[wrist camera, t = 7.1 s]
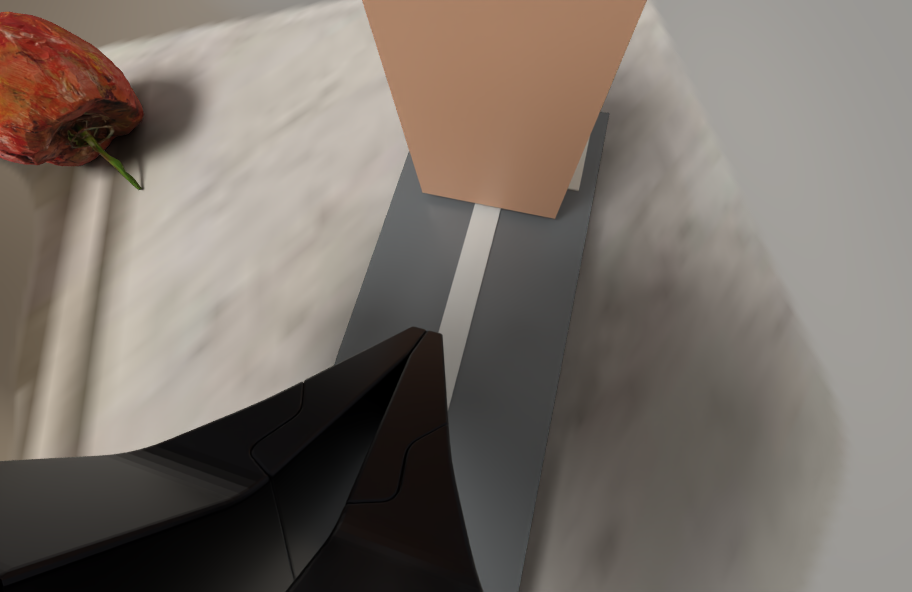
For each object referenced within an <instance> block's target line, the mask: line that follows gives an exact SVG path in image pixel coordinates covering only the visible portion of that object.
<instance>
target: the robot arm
mask: <svg viewBox="0 0 912 592" xmlns="http://www.w3.org/2000/svg"><path fill="white" fill-rule="evenodd" d="M448 425H449V421H448V407H447V392H446V377H445V363H444V348H443V335H442V334H441V333H438V332H434V331H430V330H429V331H427V330H426V329H423V328H419V327H415V326H412V327H410V328H408V329H406V330H404V331H402V332H400V333H398V334H396V335H394V336H392V337H390V338H388V339H386V340H384V341H382V342H380V343H378V344H376V345H374V346H372V347H370V348H368V349H366V350H364V351H362V352H360V353H358V354H356V355H354V356H352V357H350V358H348V359H346V360H344V361H342V362H340V363H338V364H336V365H334V366H332V367H330V368H328V369H326V370H324V371H322V372H320V373H318V374H316V375H314V376H312V377H310V378H308V379H306V380H305V381H304V383H303V382H300V383H298V384H296V385H294V386H292V387H290V388H288V389H286V390H284V391H282V392H280V393H278V394H276V395H274V396H271V397H269V398H267V399H265V400H263V401H261V402H258V403H256V404H254V405H251V406H249V407H247V408H244V409H242V410H240V411H237V412H235V413H233V414H230V415H228V416H225V417H223V418H220V419H218V420H215V421H213V422H211V423H208V424H206V425H203V426H201V427H198V428H196V429H193V430H191V431H189V432H186V433H184V434H181V435H179V436H176V437H174V438H171V439H169V440H167V441H164V442H161V443H159V444H156V445H153V446H150V447H146V448H143V449H140V450H135V451H131V452H127V453H120V454H113V455H102V456H84V457H66V458H48V459H30V460H12V461H0V592H484V591H483V589H482V586H481V583H480V580H479V577H478V573H477V570H476V566H475V563H474V559H473V555H472V551H471V547H470V543H469V538H468V534H467V529H466V525H465V520H464V516H463V511H462V507H461V502H460V498H459V493H458V489H457V484H456V479H455V474H454V468H453V463H452V455H451V446H450V434H449V426H448Z"/></svg>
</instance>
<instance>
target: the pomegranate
mask: <svg viewBox="0 0 912 592" xmlns="http://www.w3.org/2000/svg"><path fill="white" fill-rule="evenodd" d="M143 116H144V113H143V109H142V105H141V103H140V101H139V100H138V98H137V96H136V95H135V93H134V91H133V89H132V88H131V87H130V83H129V82H128V81H127V79H126V78H125V76H124V74H123V72H122V71H121V70H120V69H119V68H118V67H116V66H115V65H114V63H113V62H112V61H111V60H110V59H109V58H107V57H106V56H105V55H104V54H103V53H102V52H101V51H100V50H98V49H97V48H96V47H94V46H93V45H92V44H90V43H88V42H86V41H84V40H82V39H81V38H79V37H78V36H76V35H74V34H72V33H71V32H68V31H67V30H65V29H63V28H61V27H59V26H58V25H56V24H53V23H52V22H49V21H47V20H44V19H42V18H39V17H36V16H32V15H27V14H18V13H13V12H1V13H0V158H2V159H5V160H8V161H12V162H16V163H20V164H33V165H40V164H43V163H45V162H47V163H51V164H55V165H59V166H81V165H84V164H86V163H88V162H90V161H92V160H94V159H95V158H97V157H98V156H99V154H101V155H102V156H103V157H104V158H105V159H106V160H107V161H108V162H109V163H110V164H111V165H112V166H114V167H115V168H116V169H117V170H118V171H119V172H120V173H121V174H122V175H123V176H124V177H125V178H126V179H127V180H128V181H129V182H130V183H131V184H132V185H133V186H134V187H136V188H137V189H138V190H141V189H142V188H141V187H140V186H139V184H138V183H137V182H136V180H135V179H134V178H133V177H132V176H131V175H129V174H128V173H127V172H126V171H125V169H124V167H123V165H122V164H121V162H120V161H119V160H117V159H115V158H113V157H112V156H110V155H109V154H108V153H106V152H105V151H104V150H105V149H106V148H107V147H108V146H109V145H110V143H111V141H112V140H113V139H114V138H115V137H117V136H121V135H128V134H129V133H130V132H131V131H132V130H133V129H134V128H135V127H136V126H137V125H138V124H139V123H140V122H142V119H143Z"/></svg>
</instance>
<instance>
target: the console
mask: <svg viewBox="0 0 912 592" xmlns="http://www.w3.org/2000/svg"><path fill="white" fill-rule="evenodd" d="M608 118H609V113H604V112H600V113H599V115H598V118H597V120H596V122H595V125H594V127H593V130H592V132H591V134H590V137H589V139H588V141H587V144H586V146H585V149H584V151H583V153H582V156H581V158H580V160H579V163H578V165H577V168H576V170H575V172H574V175H573V177H572V179H571V182H570V184H569V187H568V189H567V191H566V194H565V196H564V199H563V201H562V203H561V206H560V208H559V210H558V213H557V215H556V218H555V219H553V218H548V217H543V216H538V215H533V214H528V213H523V212H518V211H513V210H508V209H503V208H498V207H493V206H488V205H482V204H477V203H472V202H467V201H462V200H457V199H452V198H447V197H442V196H437V195H432V194H427V193H423V192H422V189H421V186H420V183H419V180H418V176H417V173H416V170H415V167H414V164H413V161H412V157H411V154H410V151H409V153H408V156H407V158H406V161H405V164H404V167H403V170H402V173H401V176H400V178H399V181H398V184H397V187H396V190H395V193H394V195H393V198H392V201H391V204H390V207H389V210H388V213H387V215H386V218H385V221H384V224H383V227H382V230H381V233H380V235H379V238H378V241H377V244H376V247H375V250H374V252H373V255H372V258H371V261H370V264H369V267H368V270H367V272H366V275H365V278H364V281H363V284H362V287H361V290H360V292H359V295H358V298H357V301H356V304H355V307H354V309H353V312H352V315H351V318H350V321H349V324H348V327H347V329H346V332H345V335H344V338H343V341H342V344H341V347H340V349H339V352H338V355H337V358H336V361H335V364H334V365H336V364H338V363H340V362H342V361H344V360H346V359H348V358H350V357H352V356H354V355H356V354H358V353H360V352H362V351H364V350H366V349H368V348H370V347H372V346H374V345H376V344H378V343H380V342H382V341H384V340H386V339H388V338H390V337H392V336H394V335H396V334H398V333H400V332H402V331H404V330H406V329H408V328H410V327H412V326H415V327H419V328H423V329H426V330H427V331H429V330H430V331H434V332H438V333H441V334H442V335H443V348H444V363H445V377H446V392H447V407H448V421H449V425H448V426H449V434H450V446H451V455H452V463H453V468H454V474H455V479H456V484H457V489H458V493H459V498H460V502H461V507H462V511H463V516H464V520H465V525H466V529H467V534H468V538H469V543H470V547H471V551H472V555H473V559H474V563H475V566H476V570H477V573H478V577H479V580H480V583H481V586H482V589H483V591H484V592H519V587H520V582H521V576H522V571H523V566H524V561H525V555H526V550H527V545H528V540H529V534H530V529H531V524H532V518H533V513H534V508H535V503H536V497H537V492H538V487H539V482H540V476H541V471H542V466H543V461H544V455H545V450H546V445H547V439H548V434H549V429H550V424H551V418H552V413H553V408H554V403H555V397H556V392H557V387H558V382H559V376H560V371H561V366H562V360H563V355H564V350H565V345H566V339H567V334H568V329H569V324H570V318H571V313H572V308H573V303H574V297H575V292H576V287H577V281H578V276H579V271H580V266H581V260H582V255H583V250H584V245H585V239H586V234H587V229H588V224H589V218H590V213H591V208H592V202H593V197H594V192H595V187H596V181H597V176H598V171H599V166H600V160H601V155H602V150H603V145H604V139H605V134H606V129H607V123H608Z"/></svg>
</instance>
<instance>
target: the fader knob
mask: <svg viewBox="0 0 912 592" xmlns="http://www.w3.org/2000/svg"><path fill="white" fill-rule="evenodd" d="M362 1H363V4H364V8H365V11H366V14H367V17H368V20H369V24H370V27H371V30H372V33H373V36H374V39H375V43H376V46H377V49H378V52H379V55H380V59H381V62H382V65H383V68H384V71H385V74H386V78H387V81H388V84H389V87H390V90H391V94H392V97H393V100H394V103H395V106H396V110H397V113H398V116H399V119H400V122H401V125H402V129H403V132H404V135H405V138H406V141H407V145H408V148H409V151H410V154H411V157H412V161H413V164H414V167H415V170H416V173H417V176H418V180H419V183H420V186H421V189H422V192H423V193H427V194H432V195H437V196H442V197H447V198H452V199H457V200H462V201H467V202H472V203H477V204H482V205H488V206H493V207H498V208H503V209H508V210H513V211H518V212H523V213H528V214H533V215H538V216H543V217H548V218H553V219H555V218H556V215H557V213H558V210H559V208H560V206H561V203H562V201H563V199H564V196H565V194H566V191H567V189H568V187H569V184H570V182H571V179H572V177H573V175H574V172H575V170H576V168H577V165H578V163H579V160H580V158H581V156H582V153H583V151H584V149H585V146H586V144H587V141H588V139H589V137H590V134H591V132H592V130H593V127H594V125H595V122H596V120H597V118H598V115H599V113H600V110H601V108H602V106H603V103H604V101H605V99H606V96H607V94H608V91H609V89H610V87H611V84H612V82H613V80H614V77H615V75H616V72H617V70H618V68H619V65H620V63H621V61H622V58H623V56H624V53H625V51H626V49H627V46H628V44H629V42H630V39H631V37H632V34H633V32H634V30H635V27H636V25H637V22H638V20H639V18H640V15H641V13H642V11H643V8H644V6H645V3H646V1H647V0H362Z"/></svg>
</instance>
